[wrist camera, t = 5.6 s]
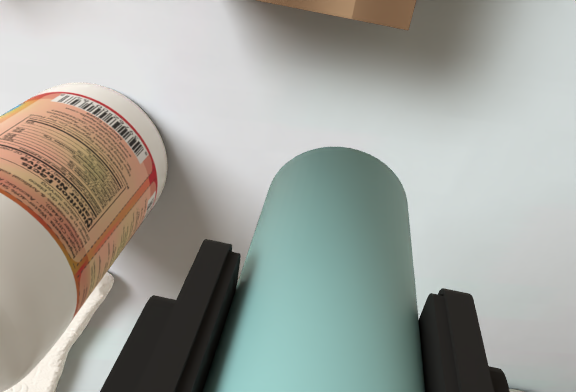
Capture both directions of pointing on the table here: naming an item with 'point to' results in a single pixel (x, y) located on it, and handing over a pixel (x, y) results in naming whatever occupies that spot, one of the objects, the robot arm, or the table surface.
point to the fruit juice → (67, 209)
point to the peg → (325, 285)
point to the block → (359, 10)
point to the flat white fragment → (63, 345)
